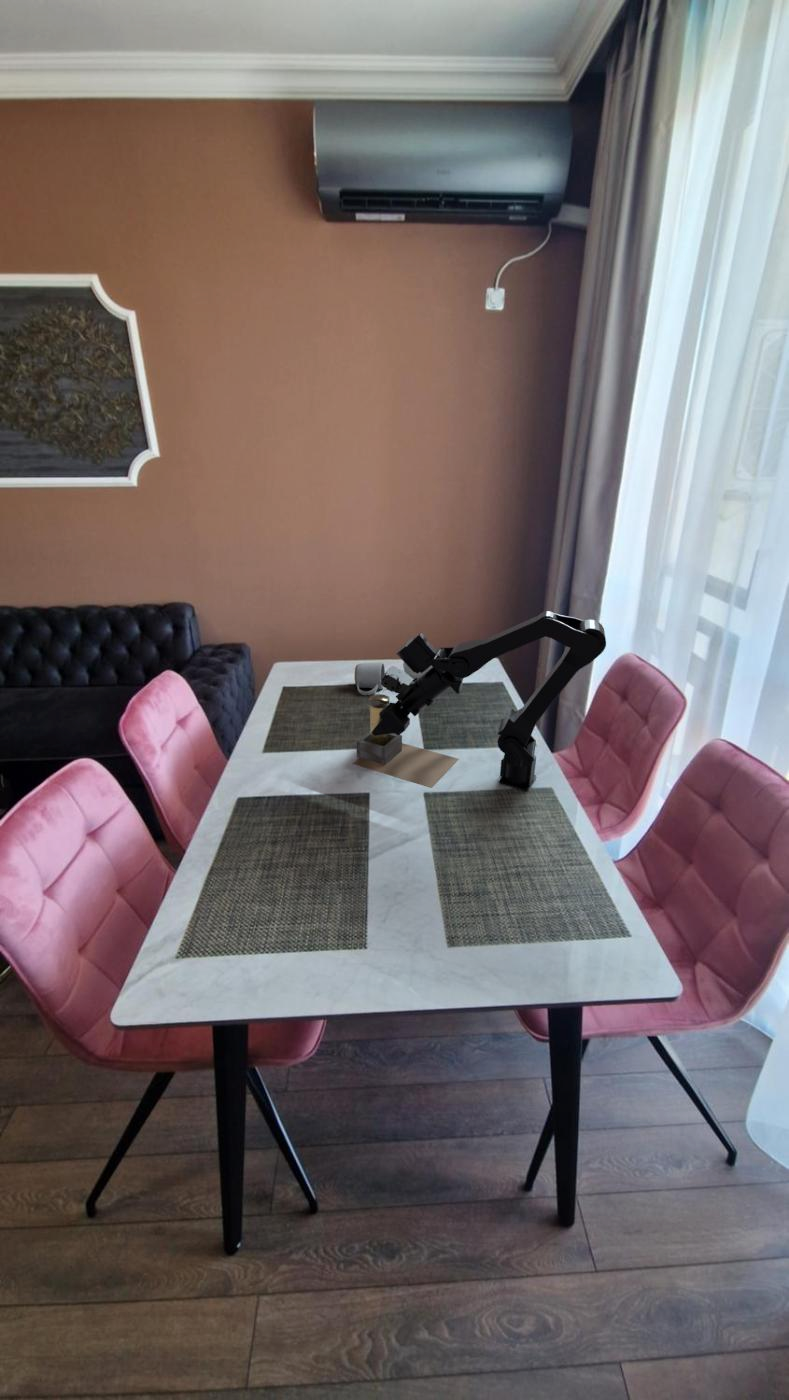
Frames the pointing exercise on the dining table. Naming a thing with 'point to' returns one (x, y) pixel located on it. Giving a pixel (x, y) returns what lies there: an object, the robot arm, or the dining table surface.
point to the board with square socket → (403, 760)
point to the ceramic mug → (369, 676)
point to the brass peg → (377, 716)
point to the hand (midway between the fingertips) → (380, 724)
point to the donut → (411, 673)
